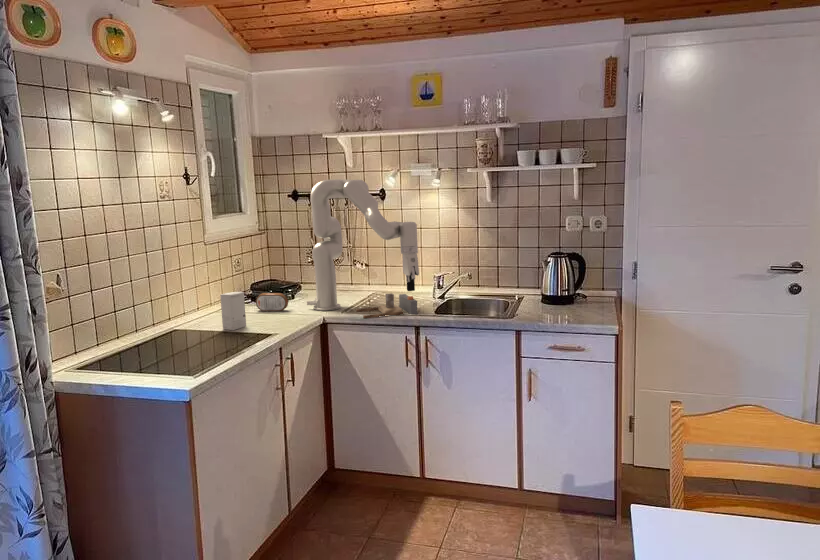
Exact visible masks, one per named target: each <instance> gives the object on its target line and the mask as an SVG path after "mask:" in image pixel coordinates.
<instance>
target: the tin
mask: <svg viewBox="0 0 820 560" xmlns="http://www.w3.org/2000/svg"><path fill="white" fill-rule="evenodd" d="M255 305H256V307H257V309H259V310H260V311H261V312H282V311H283V310H285V309H286V308H287V307H288V306H289V300H288V297H287V295H285V294H284V293H281V292H262V293H260V294H259V295H258V296H257V297H256V299H255Z"/></svg>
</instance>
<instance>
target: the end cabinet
mask: <svg viewBox="0 0 820 560" xmlns="http://www.w3.org/2000/svg"><path fill="white" fill-rule="evenodd" d="M408 296H409V294H406V293H402V294H401V293H400V294H398V297H399V298H398V304H399V305H398V306H399V307H400V308H402V311H404V312H406V313H407V312H408V314H409V315H410V314H415V315H418V300H416V299H415V298H413V300H408Z"/></svg>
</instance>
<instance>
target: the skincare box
mask: <svg viewBox="0 0 820 560" xmlns="http://www.w3.org/2000/svg"><path fill="white" fill-rule="evenodd" d="M219 295H220V305H221V306H220V307H221V310H220V311H221V320H222V321H221V322H222V329H223V330H227V331H235V330H239V329H241V328H245V327H247V318H246V317H247V315H246V305H245V304H246V303H245V302H246V301H245V292H244V291H243V292H242V291H231V292H225V293H221V294H219Z"/></svg>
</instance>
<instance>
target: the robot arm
mask: <svg viewBox="0 0 820 560" xmlns="http://www.w3.org/2000/svg"><path fill="white" fill-rule="evenodd" d="M369 188H370V187H369V186H368V183H367V182H366V181H365V180H362V179H324V180H321V181H319V182H317V183H316V184H315V185H314V186H313V187H312V188H311V192H310V205H311V219H312V228H313V229H312V230H313V233H314V235H315V237H316V238H318V239H323V240H322V241H319V242H317V243H316V244H315V245H314V246H313V247H312V252H311V253H312V260H313V264H314V265H313V266H314V276H315V278H314V279H315V294H316V296H315V298H314V299H313V300H307V301H306V305H307V306H313V309H314V310H315V311H323V312H325V311H335V310H338V309H340V308H341V304H340V303H338V294H337V293H338V292H337V276H336V275H337V274H336V266H335V262H334V260H336V259H338V258H339V257H341V255H342V254H343V234H342V226H341V223H340V221H339V219H337V218H336V217H334V216H332V213H331V211H332V210H331V205H330V203H329V200H330V199H339V198H340V199H341V198H342V199H348V200H349V201H350V202H351V203H352V204H353V205H354V206H355V207H356V208H357V209H358V210H359V211H360V212H361V213H362V214H363V216H364V219H365V221H366V222H367V224H368V226H369V227H370V229H372V230H373V232H375V234H376V235H378V237H380V238H381V239H383V240H385V241H390V240H394V239H398V238H399V239H400V240H399V241H400V254H401V255H402V272H403V274H404V275H405V279H406V291H407V292H414V291H415V290H416V286H415V285H416V284H415V281H416V280H415V279H416V276H419V275H420V268H419V258H418V253H419V250H418V227H417V226H418V225H417V223H416V222H415V221H404V222H403V221H397V220H396V221H388V220H387V219H386V218H385V217H384V216H383V214H382V213H381V212H380V210H379V202H378V200H377V198H375V197H374V196H373V195H372V194H371V193H370V192H369V190H370V189H369Z"/></svg>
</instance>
